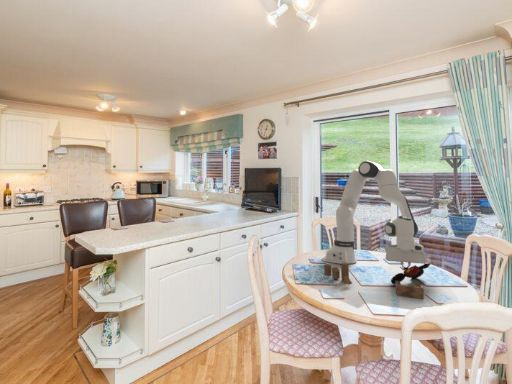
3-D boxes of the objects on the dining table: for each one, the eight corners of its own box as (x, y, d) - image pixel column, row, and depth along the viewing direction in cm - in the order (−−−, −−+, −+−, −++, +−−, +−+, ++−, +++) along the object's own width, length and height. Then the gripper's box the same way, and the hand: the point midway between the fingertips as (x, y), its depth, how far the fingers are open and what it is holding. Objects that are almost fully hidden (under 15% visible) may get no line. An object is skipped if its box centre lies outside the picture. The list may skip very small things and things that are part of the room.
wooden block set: (322, 278, 158) (321, 261, 158) (331, 274, 164) (331, 258, 163) (349, 288, 144) (348, 269, 143) (358, 283, 149) (357, 265, 148)
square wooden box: (397, 295, 132) (397, 285, 132) (395, 288, 142) (395, 278, 142) (423, 299, 128) (423, 288, 128) (419, 291, 138) (419, 281, 138)
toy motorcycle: (393, 288, 144) (409, 267, 137) (385, 280, 148) (401, 260, 140) (421, 281, 156) (437, 262, 148) (414, 274, 160) (429, 255, 152)
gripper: (384, 245, 154) (385, 269, 154) (427, 247, 146) (427, 273, 146) (384, 243, 160) (384, 266, 160) (425, 245, 152) (425, 270, 152)
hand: (405, 269), depth 153 cm, fingers closed
